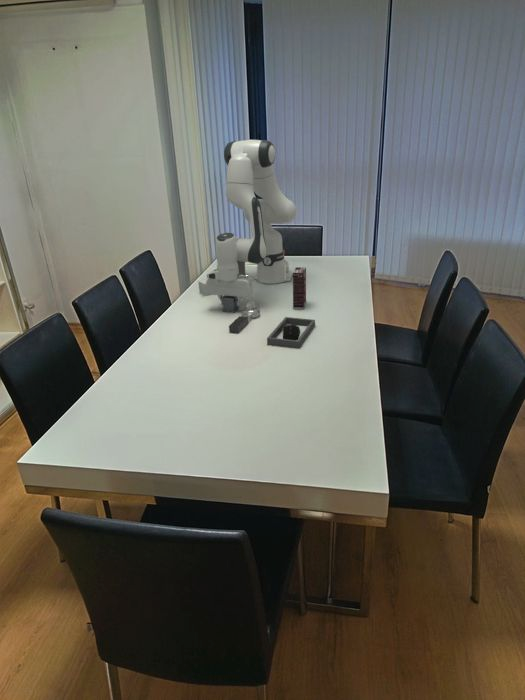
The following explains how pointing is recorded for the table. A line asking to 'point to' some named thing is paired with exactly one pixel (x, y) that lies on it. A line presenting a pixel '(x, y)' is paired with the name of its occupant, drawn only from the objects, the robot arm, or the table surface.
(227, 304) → the blue gray block
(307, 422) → the table surface
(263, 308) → the table surface
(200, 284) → the light grey cube
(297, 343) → the gray rectangular frame
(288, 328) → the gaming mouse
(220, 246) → the robot arm
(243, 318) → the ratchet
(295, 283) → the supplement box
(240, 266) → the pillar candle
